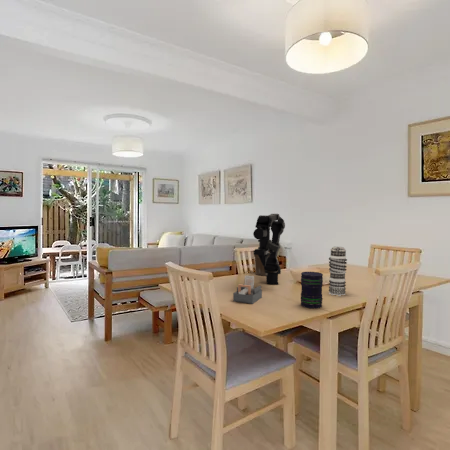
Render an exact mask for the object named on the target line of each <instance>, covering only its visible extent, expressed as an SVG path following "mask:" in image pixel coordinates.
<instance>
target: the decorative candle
mask: <svg viewBox="0 0 450 450" xmlns="http://www.w3.org/2000/svg"><path fill="white" fill-rule="evenodd" d="M329 250H330V255H329V258H328V266H329V269H328V270H329V274H330V275H329V280H328V282H329V283H328V285H329V286H328V295H330V294H331V295H330V296H333V295H338V296H337V297H342V296H341V295H345V296H346V292H347V291H346V290H347V288H346V286H347V285H346V283H347V282H346V273H347V264H348V262H347V261H348V259H347V256H346V255H347V253H346V252H347V250H346V248H345V247H343V246H333V247H331V248H330V249H329Z"/></svg>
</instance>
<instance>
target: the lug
mask: <svg viewBox="0 0 450 450" xmlns="http://www.w3.org/2000/svg"><path fill="white" fill-rule="evenodd" d="M237 287H238V293H239V291H241V287H248V294H251V286H250V285H243V283H242V284H241V283H240V284H237Z"/></svg>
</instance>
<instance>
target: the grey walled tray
mask: <svg viewBox="0 0 450 450" xmlns="http://www.w3.org/2000/svg"><path fill="white" fill-rule="evenodd" d="M242 285H245V283H242ZM243 289H245V287H241V290H243ZM232 294H233V295H232V300H233V302H235V303H236V302H237V303H244V304H251V305H253V304H255V303H256V302H258V301H259V300H260V299H262V298H263V289H262V285H258V286H256V287H254V289H253V291H251V294H248V293H247V294H246V295H244V294H239V293H238V286H237V287H236V291H235V292H233V293H232Z"/></svg>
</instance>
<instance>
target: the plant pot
mask: <svg viewBox="0 0 450 450" xmlns="http://www.w3.org/2000/svg"><path fill="white" fill-rule="evenodd" d="M252 252H253V253H254V250H252ZM268 252H269V253H270V251H268ZM253 257H254V267H255V274H256V275H258V276H263V277H264V276H265V277H266V275H267V273H265V270H264V266H263V265H262V262H261V260H260V258H259V256H258V255H254V254H253ZM268 257H269V256H268Z"/></svg>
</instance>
